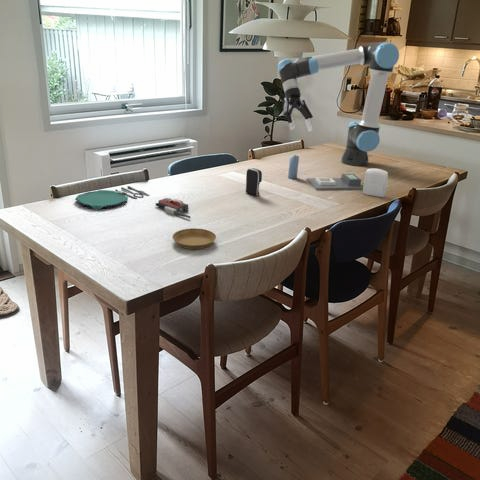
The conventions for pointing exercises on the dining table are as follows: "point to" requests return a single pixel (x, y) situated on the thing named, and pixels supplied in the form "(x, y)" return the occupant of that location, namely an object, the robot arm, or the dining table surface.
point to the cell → (293, 167)
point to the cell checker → (337, 183)
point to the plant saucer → (194, 238)
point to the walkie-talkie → (173, 206)
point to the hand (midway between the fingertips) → (302, 130)
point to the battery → (253, 181)
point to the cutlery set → (106, 198)
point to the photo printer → (375, 182)
